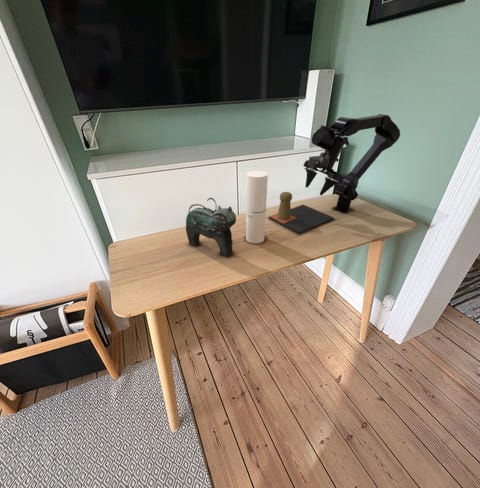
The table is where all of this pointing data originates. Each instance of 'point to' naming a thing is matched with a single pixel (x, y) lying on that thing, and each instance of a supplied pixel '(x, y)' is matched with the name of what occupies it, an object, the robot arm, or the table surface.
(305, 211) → the rubber mat
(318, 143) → the robot arm
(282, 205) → the cork
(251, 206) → the cylindrical container
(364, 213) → the table surface
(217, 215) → the ceramic cat
